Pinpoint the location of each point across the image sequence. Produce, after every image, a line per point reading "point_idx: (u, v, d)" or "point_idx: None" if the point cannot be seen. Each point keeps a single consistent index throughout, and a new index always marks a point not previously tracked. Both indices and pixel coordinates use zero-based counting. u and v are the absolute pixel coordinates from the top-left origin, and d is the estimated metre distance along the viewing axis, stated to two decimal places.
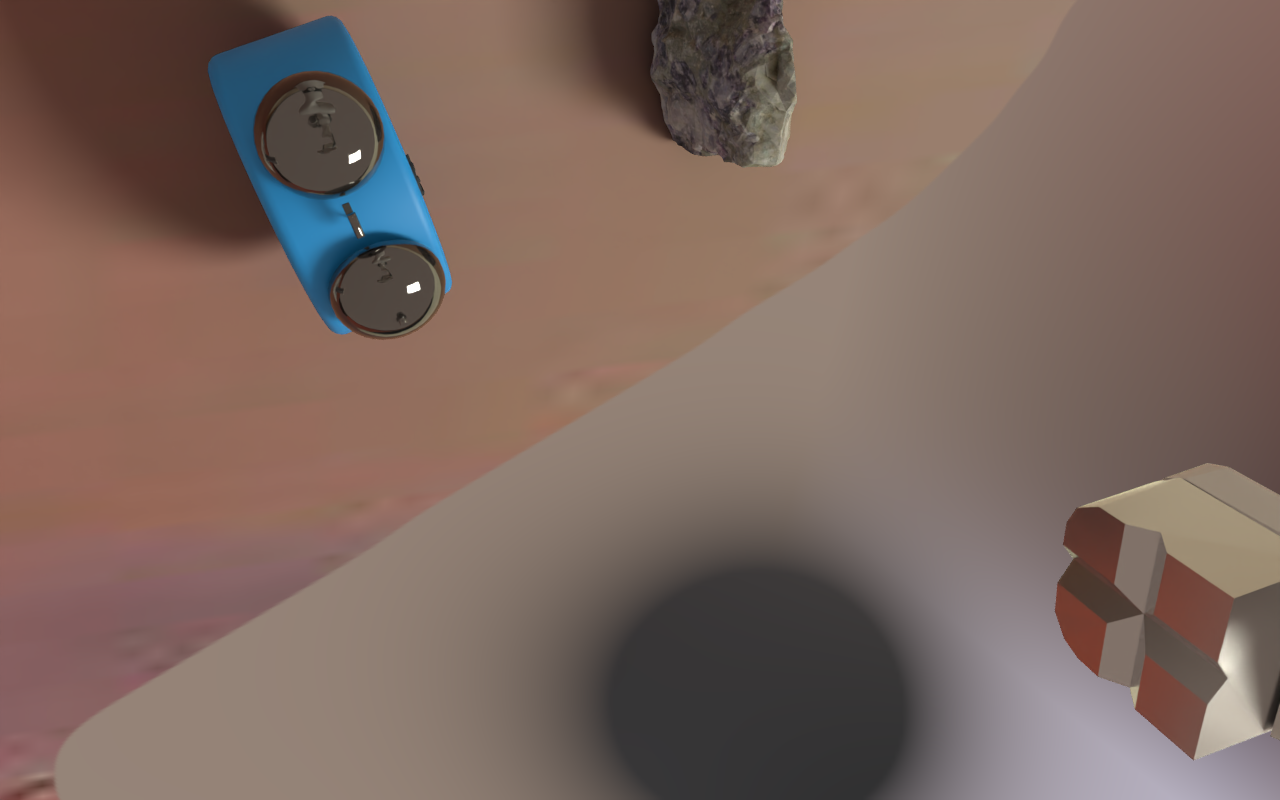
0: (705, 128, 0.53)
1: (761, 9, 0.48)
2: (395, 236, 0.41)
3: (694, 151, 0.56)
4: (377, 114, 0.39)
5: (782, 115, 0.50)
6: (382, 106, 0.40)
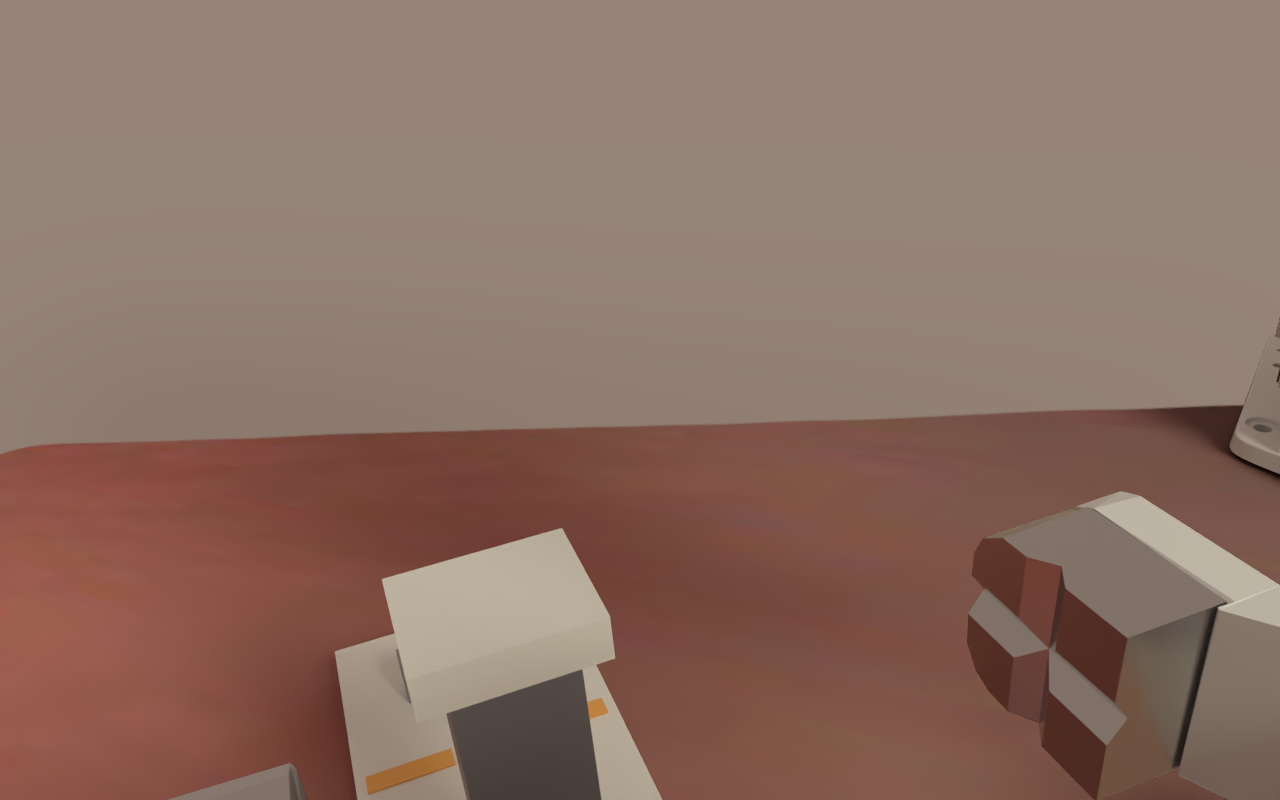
0: None
1: None
2: None
3: None
4: None
5: None
6: None
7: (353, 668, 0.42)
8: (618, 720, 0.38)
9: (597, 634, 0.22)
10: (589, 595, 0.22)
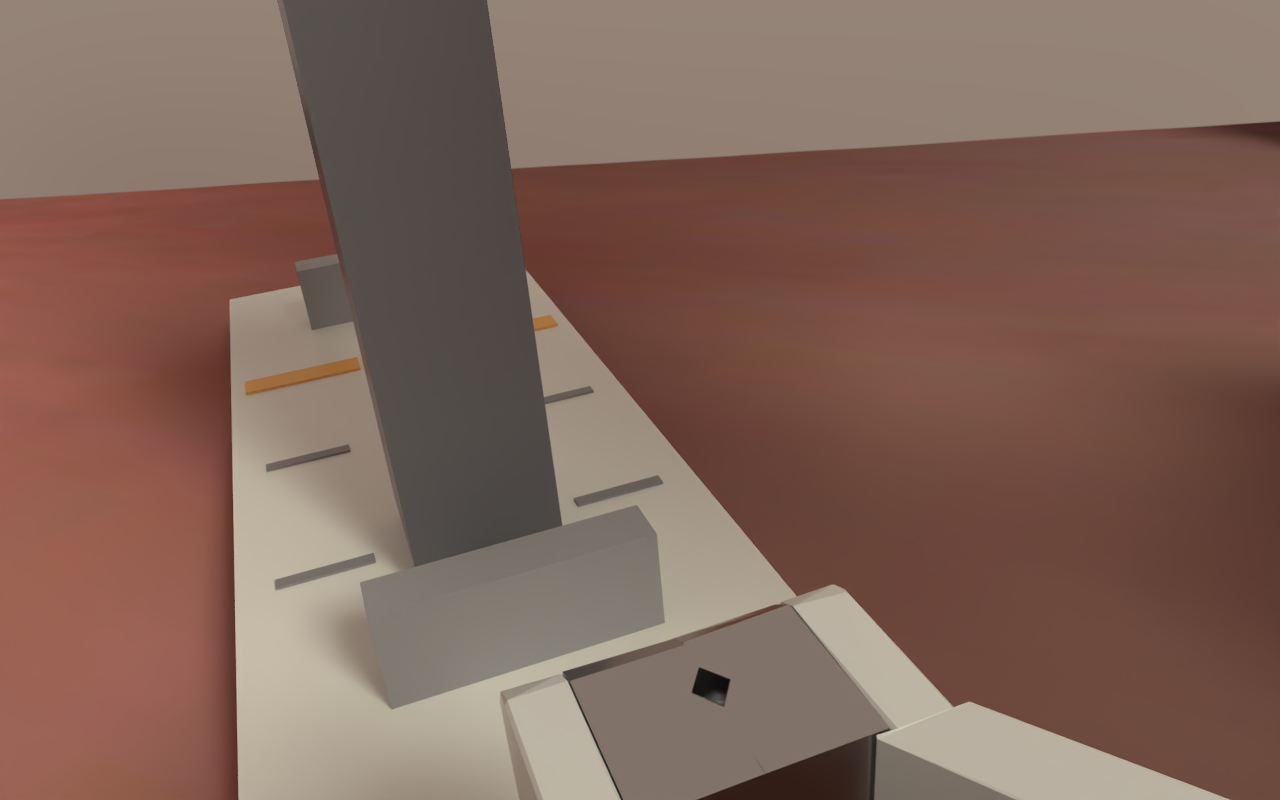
0: None
1: None
2: None
3: None
4: None
5: None
6: None
7: (249, 309, 0.34)
8: (569, 330, 0.30)
9: None
10: None
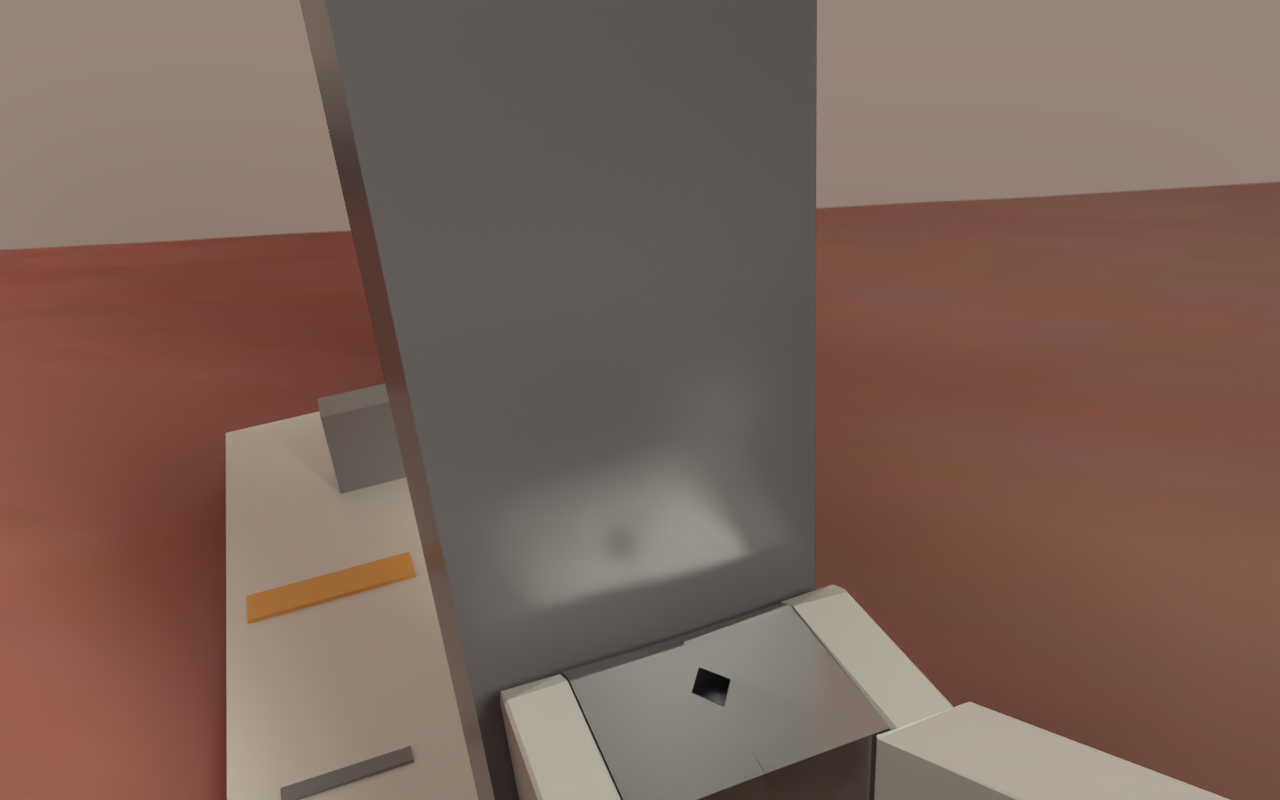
0: None
1: None
2: None
3: None
4: None
5: None
6: None
7: (252, 452, 0.25)
8: None
9: None
10: None
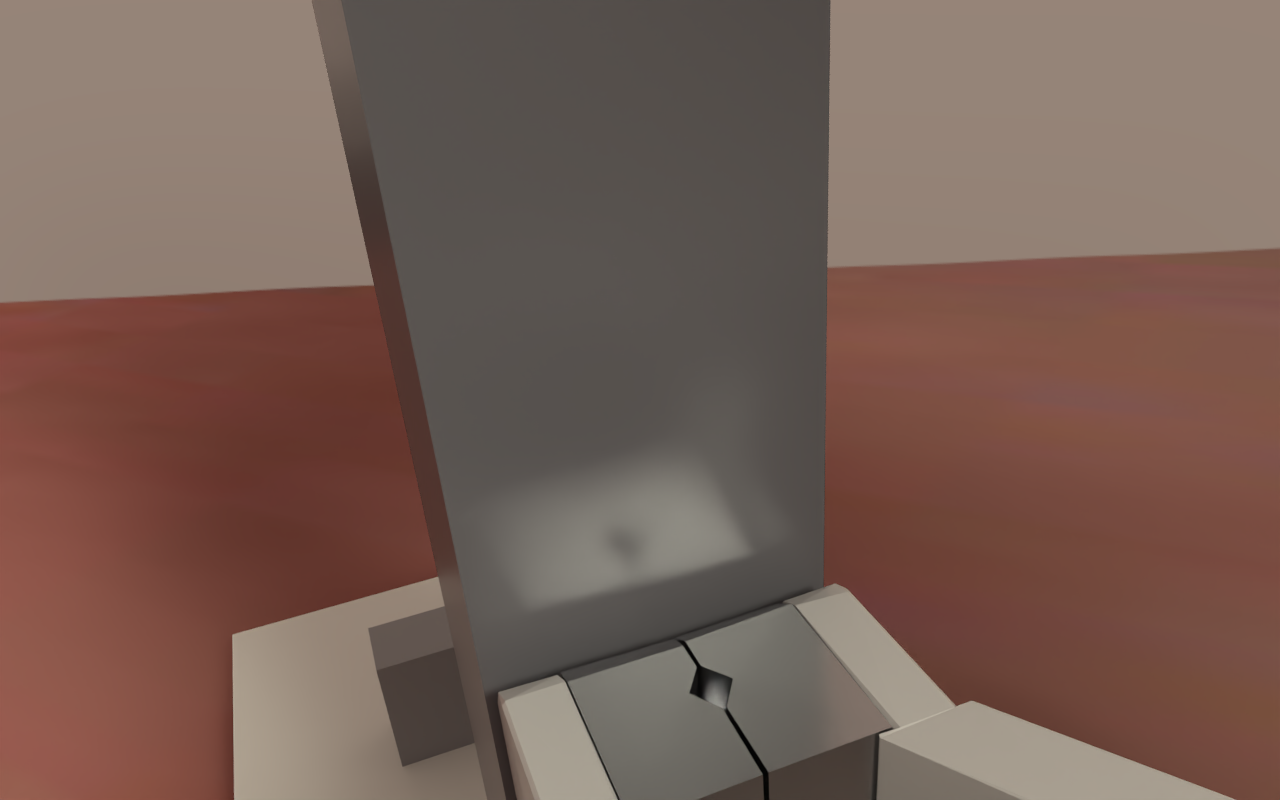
0: None
1: None
2: None
3: None
4: None
5: None
6: None
7: (270, 674, 0.18)
8: None
9: None
10: None
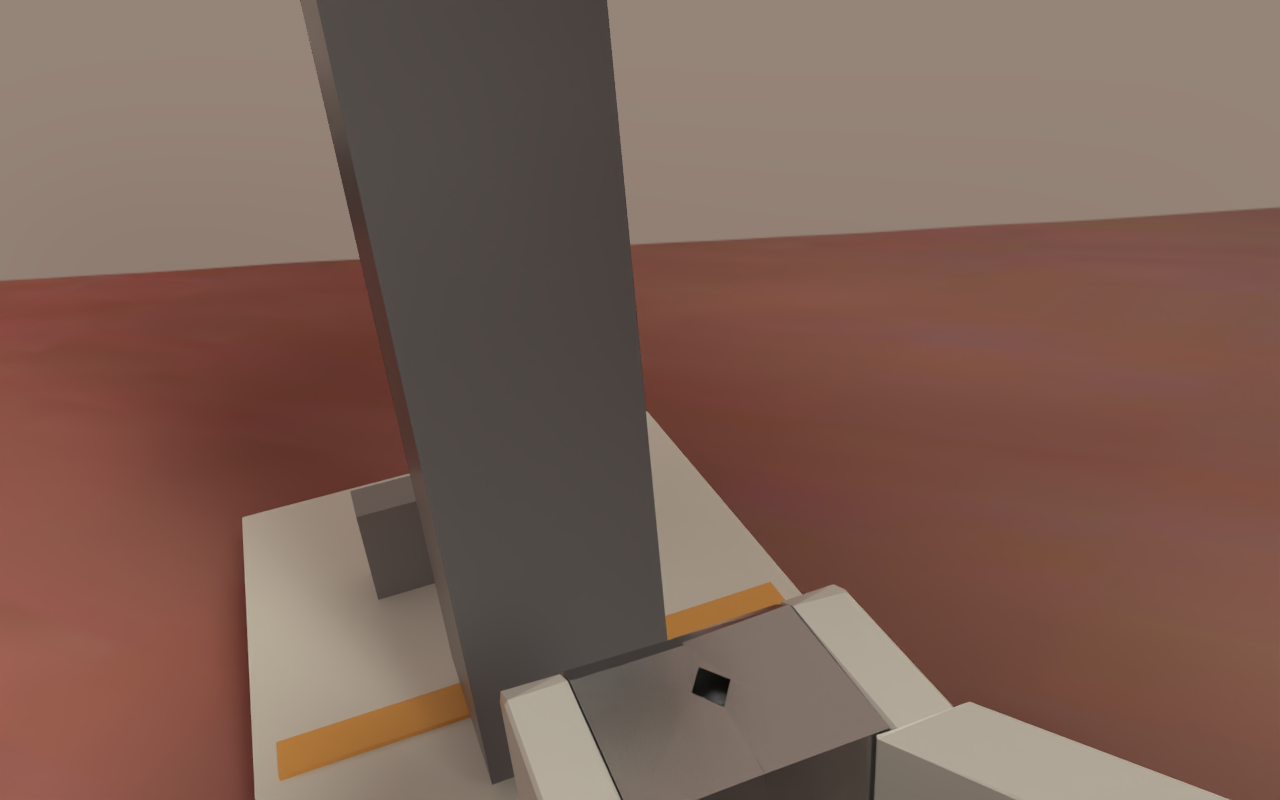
0: None
1: None
2: None
3: None
4: None
5: None
6: None
7: (273, 543, 0.22)
8: None
9: None
10: None
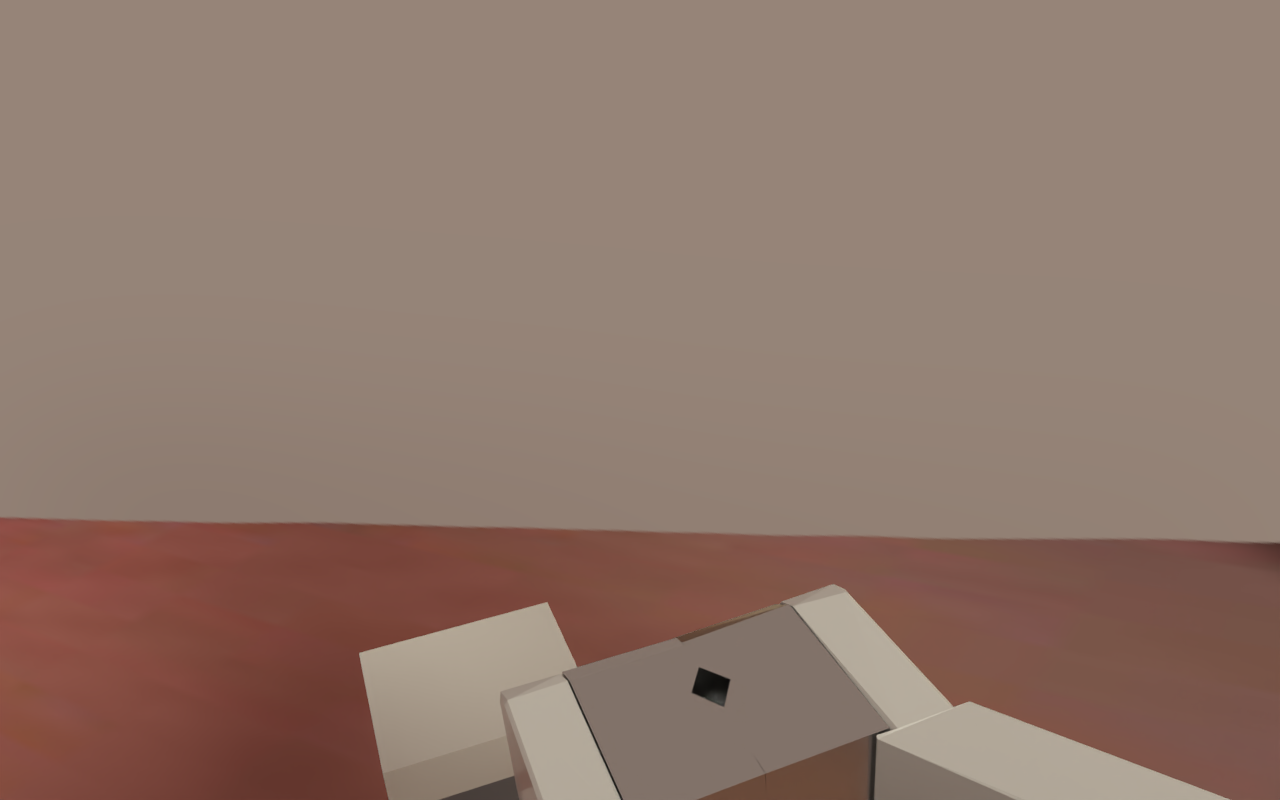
0: None
1: None
2: None
3: None
4: None
5: None
6: None
7: None
8: None
9: None
10: None
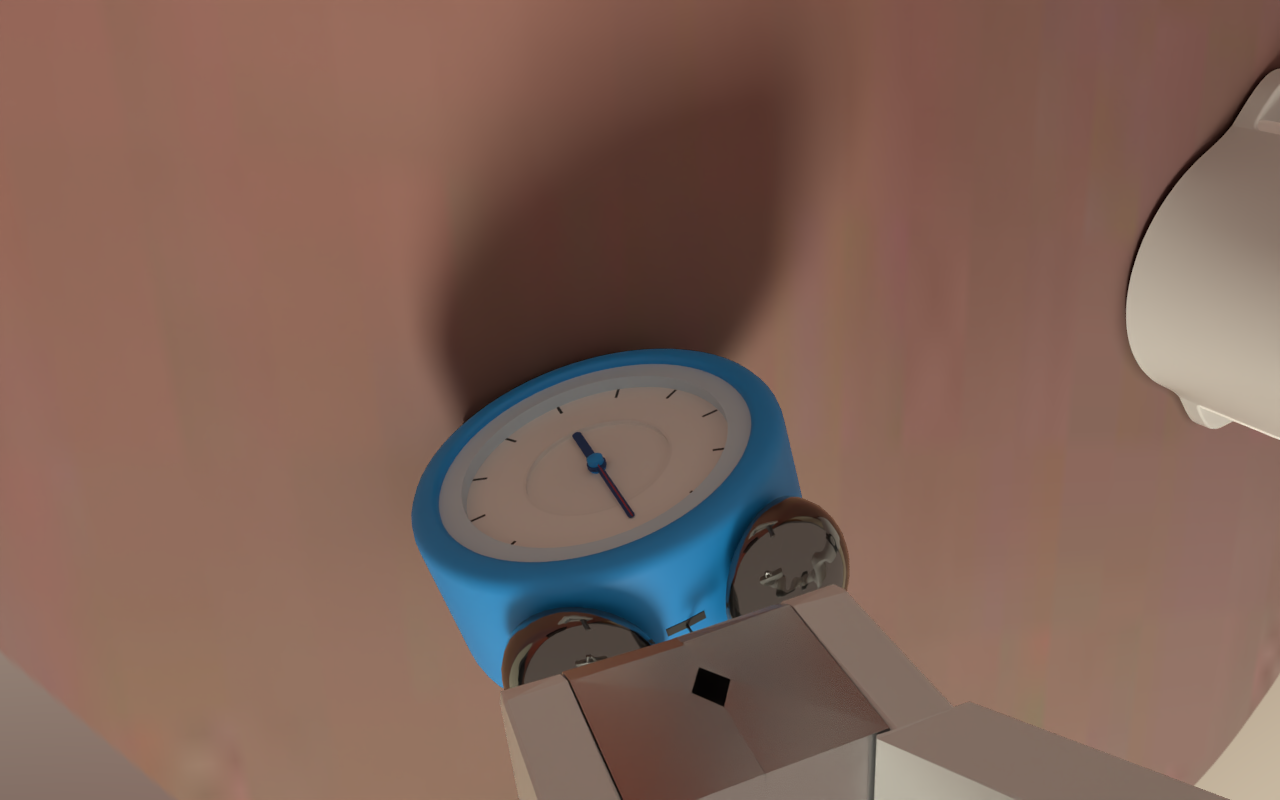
0: None
1: None
2: None
3: None
4: None
5: None
6: None
7: None
8: None
9: None
10: None
